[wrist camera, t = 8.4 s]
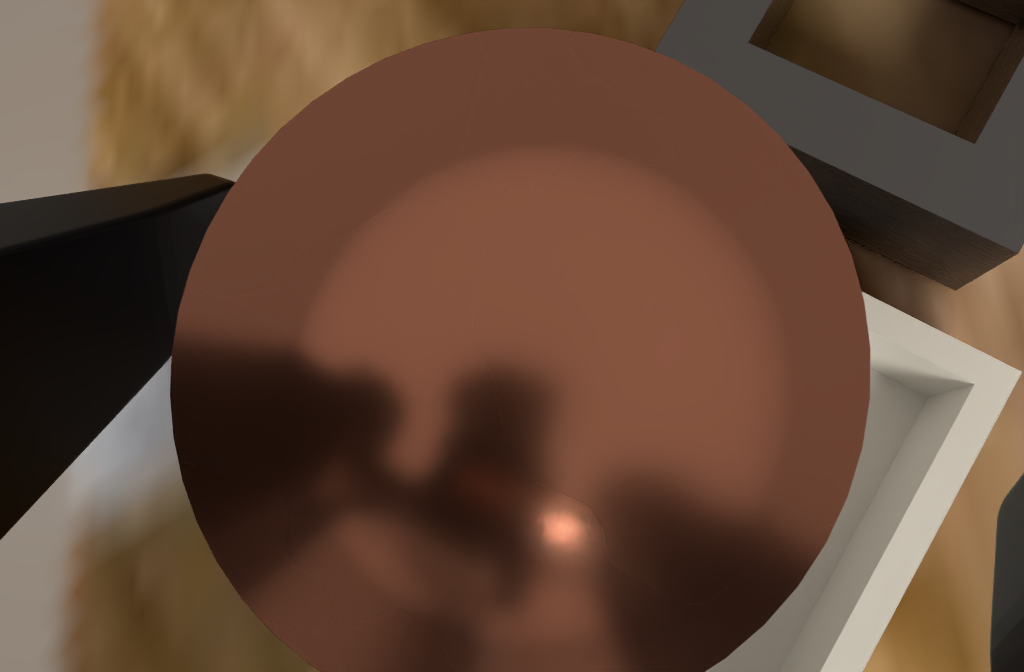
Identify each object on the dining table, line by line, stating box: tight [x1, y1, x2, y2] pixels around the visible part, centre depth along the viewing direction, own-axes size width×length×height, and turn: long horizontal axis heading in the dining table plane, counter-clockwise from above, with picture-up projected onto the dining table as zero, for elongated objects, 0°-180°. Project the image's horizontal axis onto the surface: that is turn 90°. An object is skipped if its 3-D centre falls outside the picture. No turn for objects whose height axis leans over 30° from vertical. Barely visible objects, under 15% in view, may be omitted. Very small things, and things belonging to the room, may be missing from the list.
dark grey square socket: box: [654, 0, 1024, 291], centre depth 18 cm, size 8×8×3 cm
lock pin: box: [170, 28, 870, 672], centre depth 12 cm, size 5×5×13 cm
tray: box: [705, 292, 1022, 672], centre depth 17 cm, size 10×12×3 cm
